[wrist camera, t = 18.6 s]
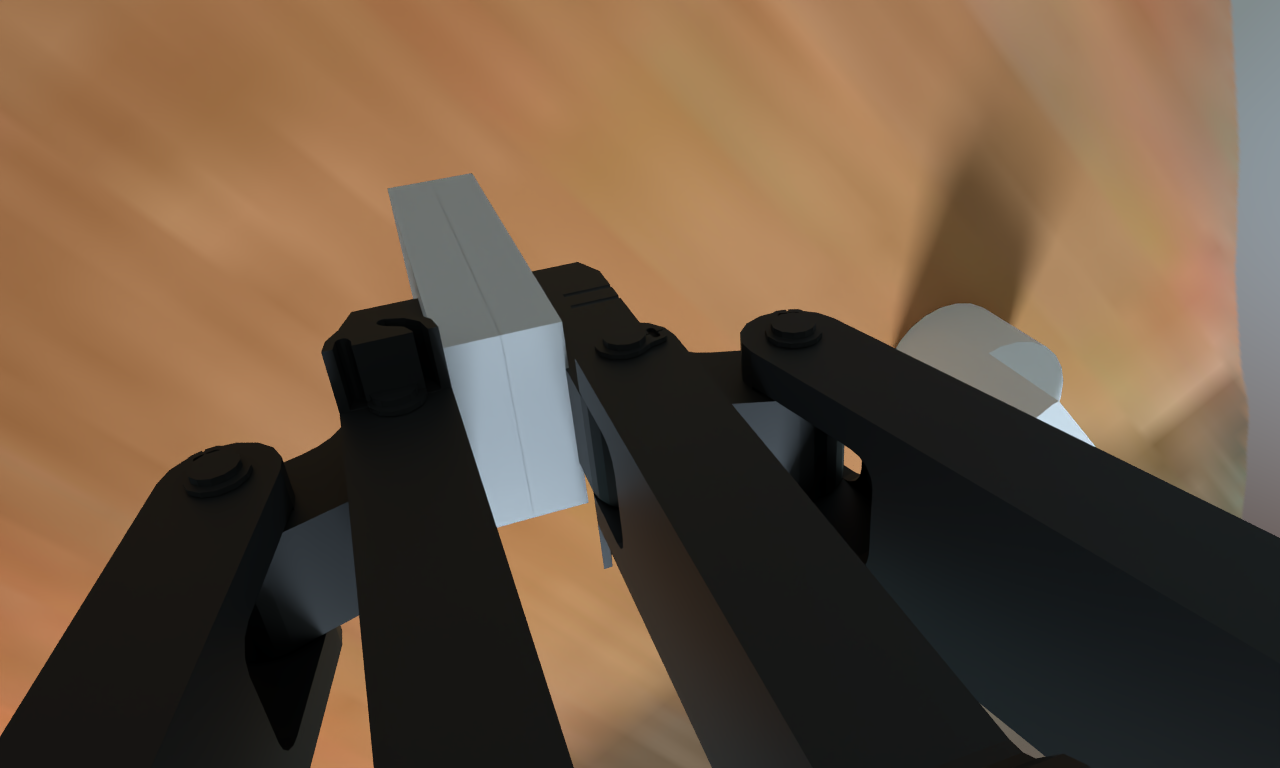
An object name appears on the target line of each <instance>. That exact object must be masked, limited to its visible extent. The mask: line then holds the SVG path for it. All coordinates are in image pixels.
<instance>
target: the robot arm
mask: <svg viewBox="0 0 1280 768" xmlns="http://www.w3.org/2000/svg"><path fill="white" fill-rule="evenodd" d="M388 193H389V197H390V201H391V206H392V210H393V214H394V219H395V223H396V227H397V231H398V236H399V240H400V244H401V248H402V253H403V257H404V261H405V265H406V270H407V274H408V278H409V283H410V287H411V291H412V295H413V299H411V300H406V301H402V302H397V303H392V304H387V305H383V306H378V307H373V308H368V309H364V310H359V311H354V312H351V313H350V315H349V316H348V317H347V319H346V320H345V321H344V323H343V324H342V326H341V327H340V328H339V331H337V332H336V333H335V334H333V335H332V336H331V337H330V338H329V339H328V340H327V341H325V343H324V346H323V349H322V352H321V353H322V356H323V360H324V363H325V366H326V370H327V373H328V376H329V380H330V383H331V386H332V390H333V393H334V396H335V400H336V403H337V406H338V410H339V413H340V421H341V428H340V429H339V430H338V431H337V432H336V433H335V434H334V435H333V436H332V437H331V438H330V439H328V440H327V441H325V442H324V443H322V444H321V445H319V446H318V447H316V448H314V449H312V450H310V451H308V452H306V453H304V454H302V455H300V456H298V457H295V458H293V459H291V460H288V461H286V462H284V463H283V460H282V457H281V456H280V454H279V453H278V452H277V451H276V450H275V449H274V447H270V446H267V445H264V444H261V443H233V444H229V445H224V446H215V447H212V448H209V449H205V451H204V452H202V451H200V452H198V453H196V454H194V455H192V456H190V457H189V458H188V459H186V460H185V461H183V462H181V463H180V464H178V465H177V466H175V467H174V468H172V469H171V470H169V471H168V472H167V473H166V475H165V476H164V477H163V478H162V479H161V480H160V481H159V482H158V483H157V484H156V486H155V487H154V489H153V491H152V492H151V494H150V496H149V497H148V499H147V500H146V502H145V504H144V505H143V507H142V508H141V510H140V512H139V513H138V515H137V517H136V518H135V520H134V521H133V523H132V525H131V526H130V528H129V529H128V531H127V533H126V534H125V536H124V538H123V539H122V541H121V542H120V544H119V546H118V547H117V549H116V550H115V552H114V554H113V555H112V557H111V559H110V560H109V562H108V563H107V565H106V567H105V568H104V570H103V571H102V573H101V575H100V576H99V578H98V580H97V581H96V583H95V584H94V586H93V588H92V589H91V591H90V592H89V594H88V596H87V597H86V599H85V601H84V602H83V604H82V605H81V607H80V609H79V610H78V612H77V613H76V615H75V617H74V618H73V620H72V622H71V623H70V625H69V626H68V628H67V630H66V631H65V633H64V634H63V636H62V638H61V639H60V641H59V642H58V644H57V646H56V647H55V649H54V651H53V652H52V654H51V655H50V657H49V659H48V660H47V662H46V663H45V665H44V667H43V668H42V670H41V672H40V673H39V675H38V676H37V678H36V680H35V681H34V683H33V684H32V686H31V688H30V689H29V691H28V693H27V694H26V696H25V697H24V699H23V701H22V702H21V704H20V705H19V707H18V709H17V710H16V712H15V714H14V715H13V717H12V718H11V720H10V722H9V723H8V725H7V726H6V728H5V730H4V731H3V733H2V735H1V736H0V768H310V766H311V762H312V758H313V755H314V751H315V747H316V743H317V739H318V735H319V732H320V728H321V724H322V720H323V716H324V712H325V709H326V705H327V701H328V697H329V693H330V689H331V686H332V682H333V678H334V674H335V670H336V666H337V663H338V659H339V655H340V651H341V647H342V629H341V626H340V625H342V624H344V623H345V622H347V621H349V620H351V619H353V618H355V617H357V616H358V615H359V618H360V629H361V639H362V649H363V660H364V670H365V681H366V691H367V701H368V712H369V722H370V732H371V743H372V753H373V764H374V768H574V767H573V764H572V761H571V758H570V755H569V751H568V748H567V745H566V742H565V739H564V736H563V733H562V730H561V726H560V723H559V720H558V717H557V714H556V711H555V708H554V705H553V701H552V698H551V695H550V692H549V689H548V686H547V683H546V680H545V677H544V673H543V670H542V667H541V664H540V661H539V658H538V655H537V652H536V648H535V645H534V642H533V639H532V636H531V633H530V630H529V627H528V623H527V620H526V617H525V614H524V611H523V608H522V605H521V602H520V599H519V595H518V592H517V589H516V586H515V583H514V580H513V577H512V574H511V570H510V567H509V564H508V561H507V558H506V555H505V552H504V549H503V545H502V542H501V539H500V536H499V533H498V530H497V527H501V526H504V525H508V524H512V523H515V522H519V521H523V520H526V519H530V518H534V517H537V516H541V515H545V514H548V513H552V512H556V511H559V510H563V509H566V508H570V507H574V506H577V505H581V504H585V503H588V497H587V490H586V483H585V476H584V473H585V475H586V477H587V479H588V481H589V483H590V485H591V487H592V489H593V492H594V499H595V506H596V513H597V520H598V527H599V535H600V542H601V549H602V556H603V563H604V569H606V568H609V567H612V556H611V555H613V557H614V559H615V561H616V563H617V566H618V568H619V570H620V572H621V574H622V576H623V578H624V581H625V583H626V585H627V587H628V589H629V591H630V593H631V596H632V598H633V600H634V602H635V604H636V606H637V608H638V610H639V613H640V615H641V617H642V619H643V621H644V623H645V625H646V628H647V630H648V632H649V634H650V636H651V638H652V640H653V643H654V645H655V647H656V649H657V651H658V653H659V655H660V657H661V660H662V662H663V664H664V666H665V668H666V670H667V672H668V675H669V677H670V679H671V681H672V683H673V685H674V687H675V690H676V692H677V694H678V696H679V698H680V700H681V702H682V704H683V707H684V709H685V711H686V713H687V715H688V717H689V719H690V722H691V724H692V726H693V728H694V730H695V732H696V734H697V737H698V739H699V741H700V743H701V745H702V747H703V749H704V751H705V754H706V756H707V758H708V760H709V762H710V764H711V766H712V768H1280V538H1279V537H1277V536H1275V535H1273V534H1271V533H1269V532H1267V531H1265V530H1263V529H1260V528H1258V527H1256V526H1254V525H1252V524H1250V523H1248V522H1246V521H1244V520H1242V519H1240V518H1238V517H1236V516H1234V515H1232V514H1230V513H1228V512H1226V511H1224V510H1222V509H1220V508H1218V507H1216V506H1214V505H1212V504H1210V503H1208V502H1206V501H1204V500H1202V499H1200V498H1198V497H1196V496H1194V495H1191V494H1189V493H1187V492H1185V491H1183V490H1181V489H1179V488H1177V487H1175V486H1173V485H1171V484H1169V483H1167V482H1165V481H1163V480H1161V479H1159V478H1157V477H1155V476H1153V475H1151V474H1149V473H1147V472H1145V471H1143V470H1141V469H1139V468H1137V467H1135V466H1133V465H1131V464H1129V463H1127V462H1125V461H1122V460H1120V459H1118V458H1116V457H1114V456H1112V455H1110V454H1108V453H1106V452H1104V451H1102V450H1100V449H1098V448H1096V447H1094V446H1092V445H1090V444H1088V443H1086V442H1084V441H1082V440H1080V439H1078V438H1076V437H1074V436H1072V435H1070V434H1068V433H1066V432H1064V431H1062V430H1060V429H1058V428H1055V427H1053V426H1051V425H1049V424H1047V423H1045V422H1043V421H1041V420H1039V419H1037V418H1035V417H1033V416H1031V415H1029V414H1027V413H1025V412H1023V411H1021V410H1019V409H1017V408H1015V407H1013V406H1011V405H1009V404H1007V403H1005V402H1003V401H1001V400H999V399H997V398H995V397H993V396H991V395H988V394H986V393H984V392H982V391H980V390H978V389H976V388H974V387H972V386H970V385H968V384H966V383H964V382H962V381H960V380H958V379H956V378H954V377H952V376H950V375H948V374H946V373H944V372H942V371H940V370H938V369H936V368H934V367H932V366H930V365H928V364H926V363H924V362H922V361H919V360H917V359H915V358H913V357H911V356H909V355H907V354H905V353H903V352H901V351H899V350H897V349H895V348H893V347H891V346H889V345H887V344H885V343H883V342H881V341H879V340H877V339H875V338H873V337H871V336H869V335H867V334H865V333H863V332H861V331H859V330H857V329H855V328H852V327H850V326H848V325H846V324H844V323H842V322H840V321H838V320H836V319H834V318H832V317H829V316H826V315H823V314H820V313H815V312H807V311H802V310H799V309H788V311H786V310H780V311H775V312H774V313H771V314H767V315H763V316H760V317H758V318H756V319H754V320H752V321H751V322H749V323H747V324H746V325H745V327H744V328H743V330H742V331H741V332H740V342H741V351H728V352H712V353H694V352H688V350H687V349H686V348H685V347H684V346H683V344H682V343H681V342H680V341H679V340H678V338H677V337H676V336H675V335H674V334H673V333H671V332H670V331H669V330H667V329H666V328H664V327H661V326H657V325H653V324H650V323H639V321H638V320H637V319H636V317H635V316H634V315H633V314H632V312H631V311H630V310H629V308H628V307H627V306H626V305H625V303H624V302H623V301H622V299H621V298H619V297H618V294H617V293H616V292H615V290H614V289H613V288H612V287H610V284H609V283H608V281H607V280H606V279H605V278H604V276H603V275H602V274H601V272H600V271H598V270H596V269H593V268H591V267H588V266H586V265H584V264H581V263H579V262H575V263H571V264H566V265H561V266H556V267H552V268H547V269H542V270H537V271H531V270H530V268H529V266H528V265H527V263H526V261H525V260H524V258H523V256H522V255H521V253H520V251H519V250H518V248H517V247H516V245H515V243H514V242H513V240H512V238H511V237H510V235H509V233H508V232H507V230H506V228H505V227H504V225H503V223H502V222H501V220H500V219H499V217H498V215H497V214H496V212H495V210H494V209H493V207H492V205H491V204H490V202H489V200H488V199H487V197H486V196H485V194H484V192H483V191H482V189H481V187H480V186H479V184H478V182H477V181H476V179H475V177H474V176H473V174H472V173H471V174H465V175H460V176H454V177H449V178H443V179H438V180H432V181H427V182H421V183H416V184H410V185H405V186H399V187H393V188H388ZM844 445H845V446H847V447H848V448H850V449H851V450H852V451H853V452H855V453H856V454H857V455H858V456H859V457H860V458H861V460H862V469H861V474H858V473H855V472H854V471H852V470H851V469H849V468H847V467H846V466H844ZM980 704H981V705H983V706H984V707H985V708H986V709H988V710H989V711H990V712H991V713H993V714H994V715H995V716H996V717H997V718H999V719H1000V720H1001V721H1002V722H1004V723H1005V724H1006V725H1007V726H1009V727H1010V728H1011V729H1012V730H1014V731H1015V732H1016V733H1017V734H1018V735H1020V736H1021V737H1022V738H1023V739H1025V740H1026V741H1027V742H1028V743H1030V744H1031V745H1032V746H1033V747H1034V748H1036V749H1037V750H1038V751H1039V752H1041V753H1042V754H1043V755H1044V756H1046V757H1042V758H1036V759H1035V758H1033V757H1031V756H1029V755H1027V754H1025V753H1023V752H1022V751H1021V750H1020V749H1019V748H1018V747H1017V746H1016V745H1015V744H1014V743H1013V742H1011V741H1010V740H1009V738H1008V737H1007V736H1006V735H1005V734H1004V732H1003V731H1002V730H1001V729H1000V728H999V726H998V725H997V724H996V723H995V722H994V720H993V719H992V718H991V717H990V715H989V714H988V713H987V712H986V711H985V709H984V708H983V707H982V706H981V705H980Z"/></svg>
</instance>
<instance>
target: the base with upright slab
mask: <svg viewBox="0 0 1280 768" xmlns="http://www.w3.org/2000/svg"><path fill="white" fill-rule="evenodd" d="M896 349H897V350H899V351H901V352H903V353H905V354H907V355H909V356H911V357H913V358H915V359H917V360H919V361H922V362H924V363H926V364H928V365H930V366H932V367H934V368H936V369H938V370H940V371H942V372H944V373H946V374H948V375H950V376H952V377H954V378H956V379H958V380H960V381H962V382H964V383H966V384H968V385H970V386H972V387H974V388H976V389H978V390H980V391H982V392H984V393H986V394H988V395H991V396H993V397H995V398H997V399H999V400H1001V401H1003V402H1005V403H1007V404H1009V405H1011V406H1013V407H1015V408H1017V409H1019V410H1021V411H1023V412H1025V413H1027V414H1029V415H1031V416H1033V417H1035V418H1037V419H1039V420H1041V421H1043V422H1045V423H1047V424H1049V425H1051V426H1053V427H1055V428H1058V429H1060V430H1062V431H1064V432H1066V433H1068V434H1070V435H1072V436H1074V437H1076V438H1078V439H1080V440H1082V441H1084V442H1086V443H1088V444H1090V445H1092V446H1094V447H1095V445H1094V444H1093V443H1092V442H1091V440H1090V439H1089V438H1088V437H1087V436H1086V434H1085V433H1084V432H1083V431H1082V429H1081V428H1080V427H1079V426H1078V424H1077V423H1076V422H1075V421H1074V419H1073V418H1072V417H1071V416H1070V414H1069V413H1068V412H1067V411H1066V409H1065V408H1064V407H1063V406H1062V405H1061V403H1060V402H1059V400H1060V398H1061V392H1062V386H1063V375H1062V367H1061V365H1060V363H1059V361H1058V359H1057V357H1056V355H1055V354H1054V353H1053V352H1052V351H1050V350H1049V349H1048V348H1047V347H1046V346H1044V345H1043V344H1041V343H1039V342H1038V341H1036V340H1035V339H1033V338H1031V337H1030V336H1028V335H1027V334H1025V333H1023V332H1022V331H1020V330H1019V329H1017V328H1015V327H1014V326H1012V325H1010V324H1009V323H1007V322H1006V321H1004V320H1002V319H1001V318H999V317H998V316H996V315H994V314H993V313H991V312H990V311H988V310H986V309H985V308H983V307H980V306H977V305H974V304H971V303H956V304H952V305H949V306H945V307H941V308H939V309H937V310H935V311H934V312H932V313H930V314H928V315H926V316H925V317H923V318H922V319H921V320H920V321H919V322H917V323H916V324H915V325H914V326H913V327H911V328H910V330H909V331H908V332H907V333H906V335H905V336H904V337H903V338H902V339H901V341H900V342H899V344H898V346H897V347H896Z"/></svg>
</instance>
